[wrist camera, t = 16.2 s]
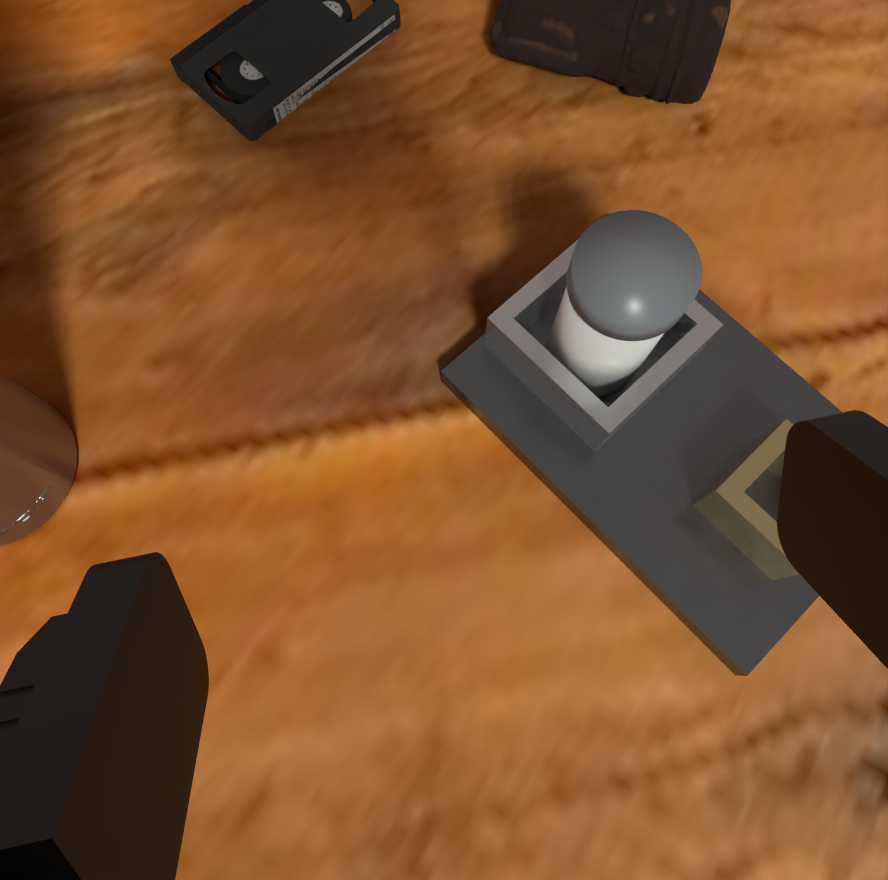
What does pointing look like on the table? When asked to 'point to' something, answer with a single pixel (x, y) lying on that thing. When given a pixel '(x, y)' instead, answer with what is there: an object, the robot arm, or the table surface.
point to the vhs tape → (280, 56)
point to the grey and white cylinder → (622, 296)
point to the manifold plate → (660, 457)
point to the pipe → (618, 41)
